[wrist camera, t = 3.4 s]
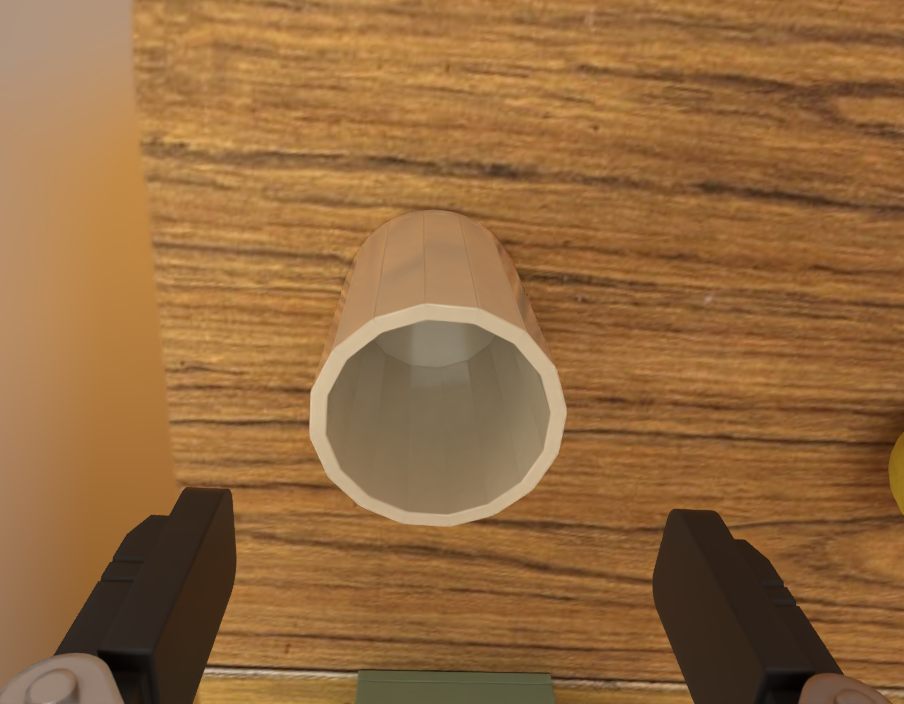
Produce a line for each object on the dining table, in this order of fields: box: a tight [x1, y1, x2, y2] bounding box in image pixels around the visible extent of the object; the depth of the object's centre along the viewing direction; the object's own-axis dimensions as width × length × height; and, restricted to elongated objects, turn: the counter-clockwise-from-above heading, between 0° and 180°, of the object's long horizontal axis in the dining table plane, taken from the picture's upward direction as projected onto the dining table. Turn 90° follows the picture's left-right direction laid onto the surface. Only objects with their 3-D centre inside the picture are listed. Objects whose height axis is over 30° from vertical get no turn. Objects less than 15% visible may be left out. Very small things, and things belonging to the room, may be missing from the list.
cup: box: [309, 210, 567, 527], centre depth 20 cm, size 6×6×9 cm
